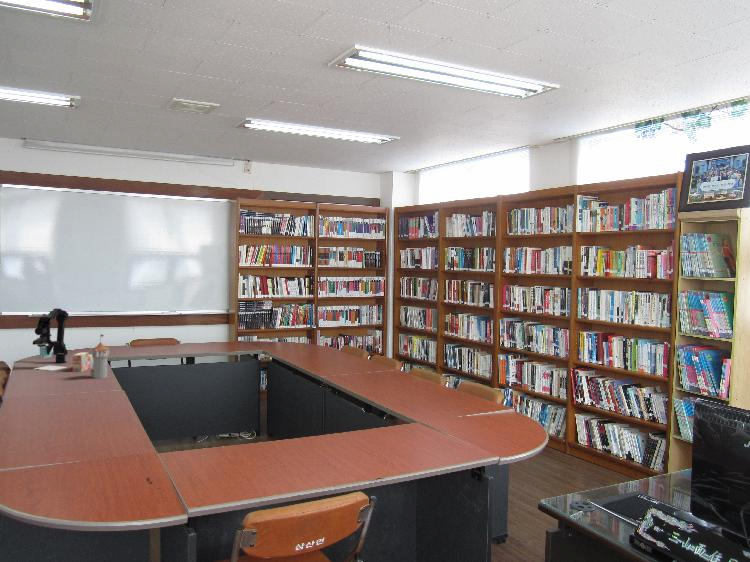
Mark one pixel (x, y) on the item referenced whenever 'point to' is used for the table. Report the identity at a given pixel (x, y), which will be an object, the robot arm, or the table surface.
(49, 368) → the mat
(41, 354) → the turquoise box
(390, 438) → the table surface
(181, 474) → the table surface
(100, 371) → the model building
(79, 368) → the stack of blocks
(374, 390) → the table surface
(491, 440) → the table surface
